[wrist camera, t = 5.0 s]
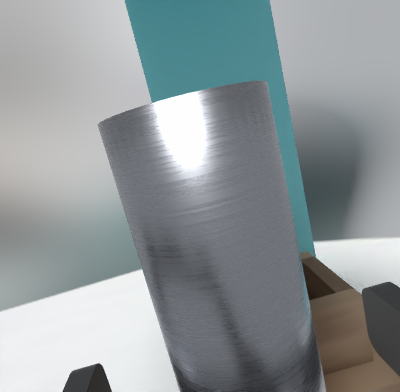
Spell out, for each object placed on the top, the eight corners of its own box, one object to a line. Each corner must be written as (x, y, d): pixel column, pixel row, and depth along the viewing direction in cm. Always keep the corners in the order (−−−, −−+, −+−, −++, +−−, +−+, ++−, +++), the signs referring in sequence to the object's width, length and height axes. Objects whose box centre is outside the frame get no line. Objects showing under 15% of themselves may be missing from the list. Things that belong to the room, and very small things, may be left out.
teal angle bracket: (249, 493, 13) (17, -352, 8) (207, 307, 28) (117, -28, 22) (462, 426, 14) (390, -414, 8) (311, 277, 28) (248, -58, 23)
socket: (239, 447, 15) (216, 363, 14) (212, 326, 25) (197, 271, 24) (425, 390, 16) (416, 304, 15) (327, 293, 25) (317, 238, 24)
